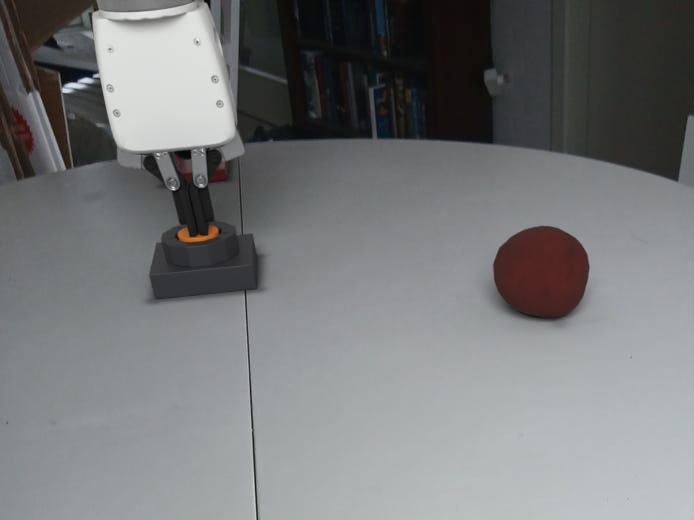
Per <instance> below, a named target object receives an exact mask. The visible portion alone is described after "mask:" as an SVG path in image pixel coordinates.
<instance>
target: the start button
mask: <svg viewBox="0 0 694 520" xmlns="http://www.w3.org/2000/svg"><path fill="white" fill-rule="evenodd" d="M218 235H219V230H218V228H217V227H216V226H213V225H209V231H208V235H206V236H202V234H199V231H198V235H196V237H190V236H189V232H188V228H187V227H186V228H183V229H181V230H180V231H179V232H178V238H179V241H184V242H196V241H205V240H208V239H212V238H215V237H216V236H218Z"/></svg>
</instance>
